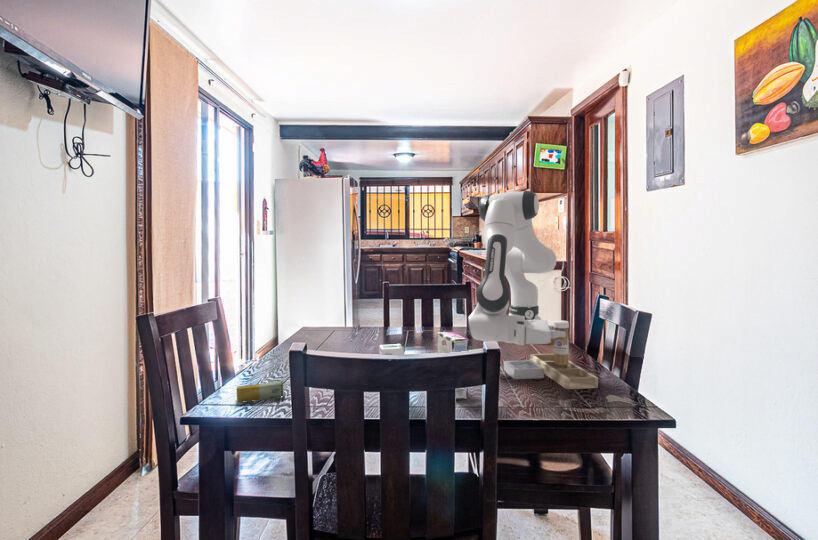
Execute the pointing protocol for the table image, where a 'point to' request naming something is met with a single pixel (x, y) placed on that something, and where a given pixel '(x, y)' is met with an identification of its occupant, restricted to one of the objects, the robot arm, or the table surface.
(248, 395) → the medication box
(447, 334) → the candy bar box
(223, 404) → the table surface
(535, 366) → the socket block
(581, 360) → the table surface
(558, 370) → the wooden compartment tray
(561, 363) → the sprinkles bottle
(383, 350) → the syrup box
